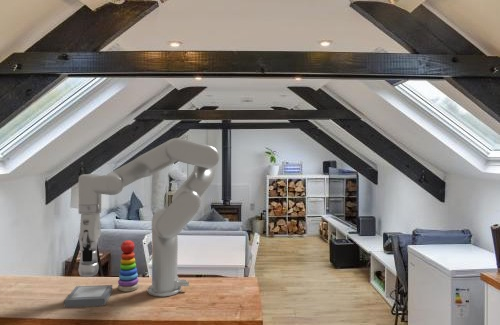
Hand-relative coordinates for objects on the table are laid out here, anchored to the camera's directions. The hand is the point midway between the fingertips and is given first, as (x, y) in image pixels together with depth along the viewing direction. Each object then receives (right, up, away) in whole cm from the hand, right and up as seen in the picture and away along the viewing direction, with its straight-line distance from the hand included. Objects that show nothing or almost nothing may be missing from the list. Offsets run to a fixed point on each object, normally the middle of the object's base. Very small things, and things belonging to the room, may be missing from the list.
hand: (89, 258), depth 134 cm
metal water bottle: (-1, -7, 0) cm, 7 cm away
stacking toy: (+10, -15, +11) cm, 21 cm away
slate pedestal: (0, -15, 0) cm, 15 cm away
